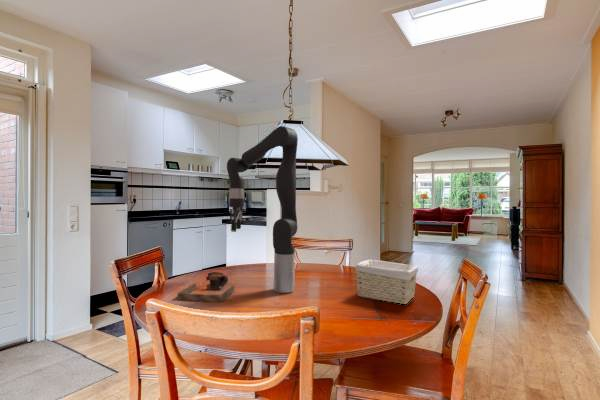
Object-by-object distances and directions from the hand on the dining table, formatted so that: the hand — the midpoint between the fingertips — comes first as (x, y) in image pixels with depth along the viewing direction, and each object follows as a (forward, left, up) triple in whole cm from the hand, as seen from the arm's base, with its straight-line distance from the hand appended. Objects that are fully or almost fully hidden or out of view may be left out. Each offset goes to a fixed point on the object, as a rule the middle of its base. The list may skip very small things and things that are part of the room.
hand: (236, 229), depth 173 cm
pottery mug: (+4, +14, -26) cm, 30 cm away
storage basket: (-73, +15, -26) cm, 79 cm away
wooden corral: (+4, +27, -26) cm, 38 cm away
